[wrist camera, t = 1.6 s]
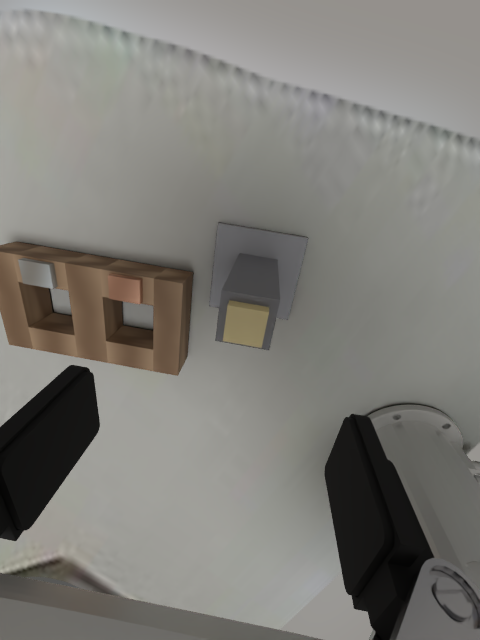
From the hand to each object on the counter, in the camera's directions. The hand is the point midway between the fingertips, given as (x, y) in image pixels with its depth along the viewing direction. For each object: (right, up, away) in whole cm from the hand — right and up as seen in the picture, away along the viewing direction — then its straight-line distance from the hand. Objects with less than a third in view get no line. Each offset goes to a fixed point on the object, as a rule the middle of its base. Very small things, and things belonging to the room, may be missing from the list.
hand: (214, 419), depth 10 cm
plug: (+2, +8, +16) cm, 18 cm away
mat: (+2, +8, +16) cm, 18 cm away
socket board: (-13, +5, +19) cm, 24 cm away
